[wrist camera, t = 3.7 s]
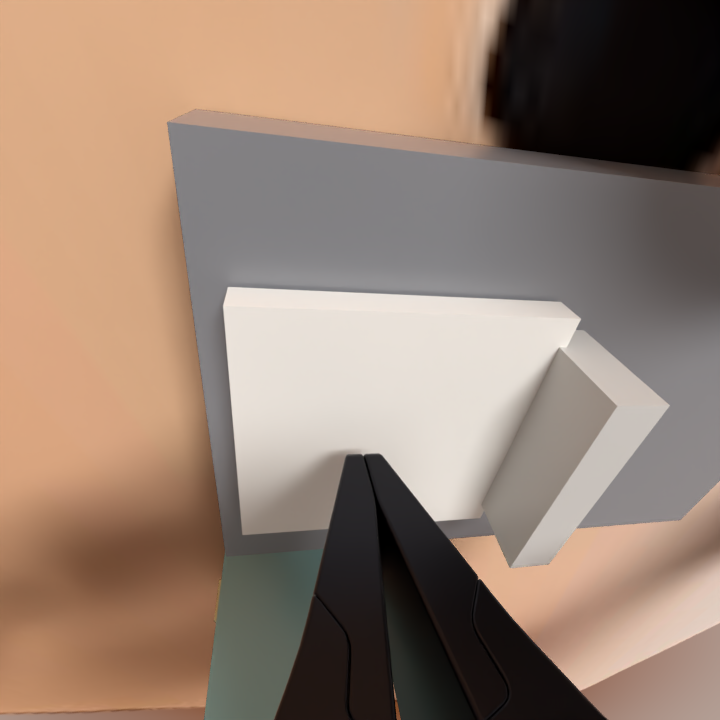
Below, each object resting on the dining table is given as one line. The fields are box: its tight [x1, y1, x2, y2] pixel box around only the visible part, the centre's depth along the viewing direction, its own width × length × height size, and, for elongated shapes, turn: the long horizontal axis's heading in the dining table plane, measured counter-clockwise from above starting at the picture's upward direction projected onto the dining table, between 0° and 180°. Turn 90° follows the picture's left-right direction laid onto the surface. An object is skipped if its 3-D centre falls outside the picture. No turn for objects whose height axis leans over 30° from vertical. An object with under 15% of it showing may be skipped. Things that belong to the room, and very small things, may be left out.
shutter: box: [223, 287, 670, 568], centre depth 10 cm, size 8×8×3 cm
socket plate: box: [167, 109, 720, 557], centre depth 13 cm, size 19×13×2 cm
